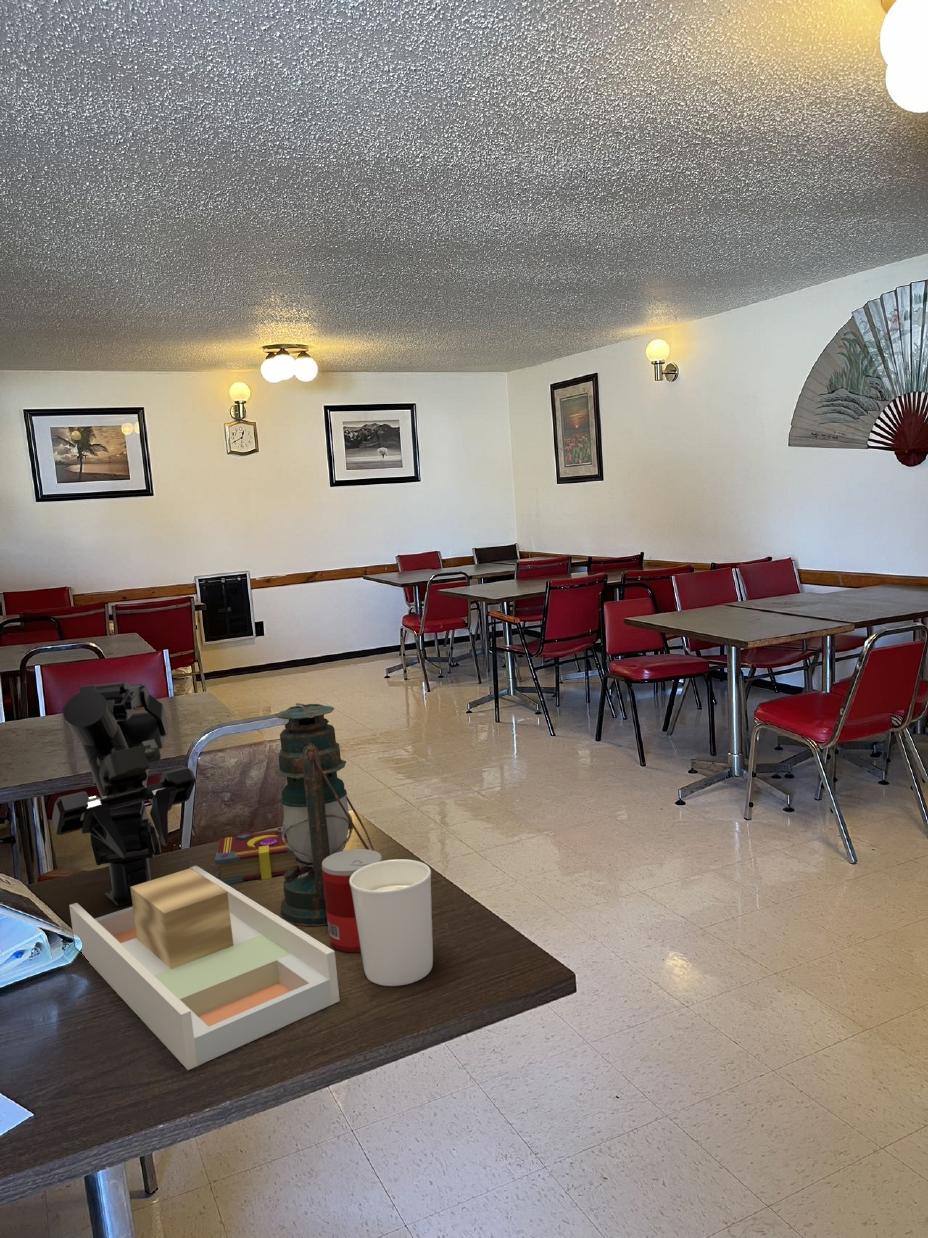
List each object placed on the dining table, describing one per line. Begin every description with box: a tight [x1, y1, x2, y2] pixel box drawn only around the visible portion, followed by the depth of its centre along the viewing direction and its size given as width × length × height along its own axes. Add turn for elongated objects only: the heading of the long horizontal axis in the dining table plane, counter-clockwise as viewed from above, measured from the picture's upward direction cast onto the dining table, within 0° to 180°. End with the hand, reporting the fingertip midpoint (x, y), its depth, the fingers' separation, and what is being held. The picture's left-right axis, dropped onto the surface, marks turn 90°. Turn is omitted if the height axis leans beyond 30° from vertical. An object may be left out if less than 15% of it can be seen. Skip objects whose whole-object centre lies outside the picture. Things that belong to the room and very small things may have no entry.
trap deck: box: [69, 865, 341, 1071], centre depth 112 cm, size 40×18×6 cm, turn 39°
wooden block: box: [130, 867, 233, 969], centre depth 114 cm, size 12×8×7 cm, turn 39°
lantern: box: [275, 702, 376, 927], centre depth 128 cm, size 19×14×30 cm
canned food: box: [322, 848, 383, 953], centre depth 117 cm, size 8×8×11 cm
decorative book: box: [214, 826, 306, 885], centre depth 147 cm, size 11×16×5 cm
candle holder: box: [349, 858, 434, 987], centre depth 109 cm, size 10×10×12 cm
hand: (145, 850), depth 122 cm, fingers open, 5 cm apart
